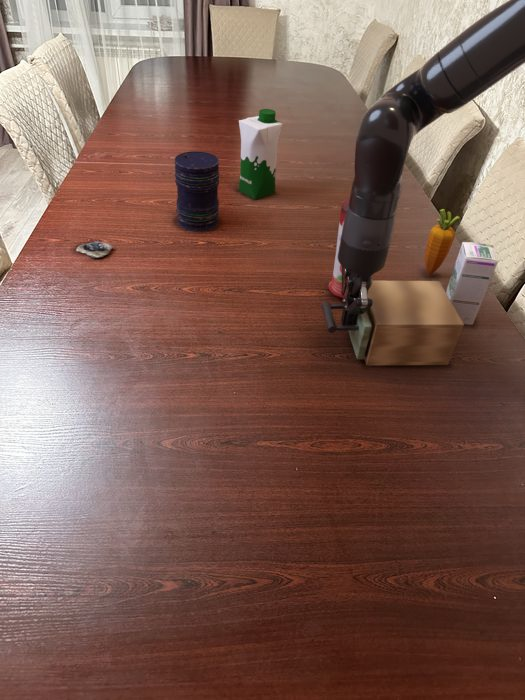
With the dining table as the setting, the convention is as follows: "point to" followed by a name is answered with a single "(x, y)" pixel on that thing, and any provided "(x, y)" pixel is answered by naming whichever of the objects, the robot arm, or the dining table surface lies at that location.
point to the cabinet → (412, 324)
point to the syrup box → (471, 279)
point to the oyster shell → (95, 249)
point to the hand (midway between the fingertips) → (347, 324)
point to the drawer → (350, 328)
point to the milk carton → (259, 154)
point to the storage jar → (197, 190)
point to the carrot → (439, 242)
